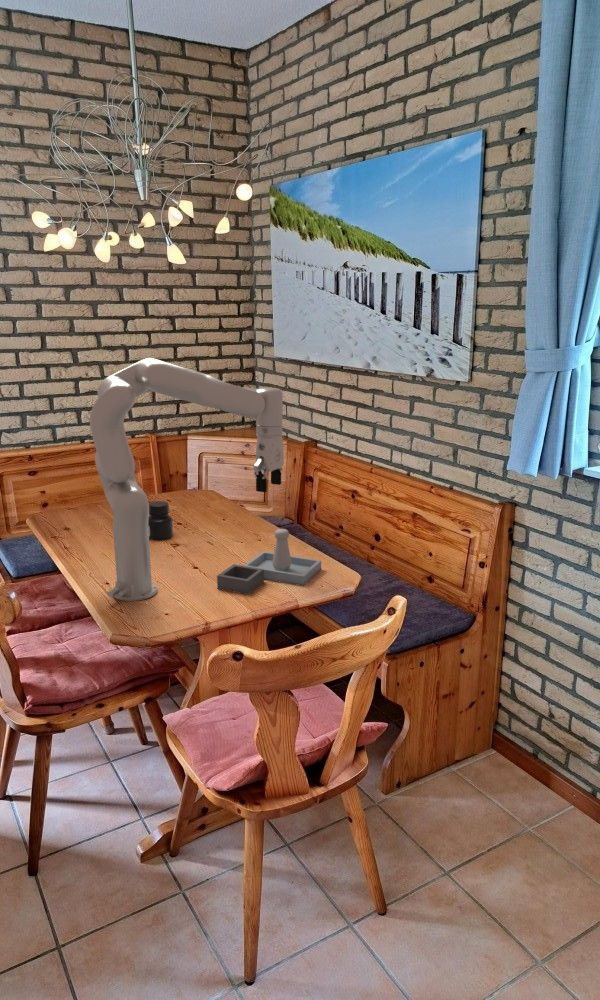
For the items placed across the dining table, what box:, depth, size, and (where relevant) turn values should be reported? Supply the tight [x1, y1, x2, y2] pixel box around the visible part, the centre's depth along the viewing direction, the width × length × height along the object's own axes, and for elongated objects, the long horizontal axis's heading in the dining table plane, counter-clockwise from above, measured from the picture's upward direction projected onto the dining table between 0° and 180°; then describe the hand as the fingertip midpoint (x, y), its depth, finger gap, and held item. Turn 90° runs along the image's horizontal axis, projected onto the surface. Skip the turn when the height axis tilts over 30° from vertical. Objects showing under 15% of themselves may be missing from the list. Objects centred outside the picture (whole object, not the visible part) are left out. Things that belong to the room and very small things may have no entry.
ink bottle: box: [148, 500, 174, 541], centre depth 247 cm, size 10×9×12 cm
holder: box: [216, 563, 265, 595], centre depth 207 cm, size 10×10×4 cm
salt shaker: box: [272, 528, 291, 572], centre depth 215 cm, size 6×6×13 cm
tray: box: [242, 550, 322, 587], centre depth 217 cm, size 14×20×3 cm
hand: (268, 487), depth 210 cm, fingers open, 9 cm apart
